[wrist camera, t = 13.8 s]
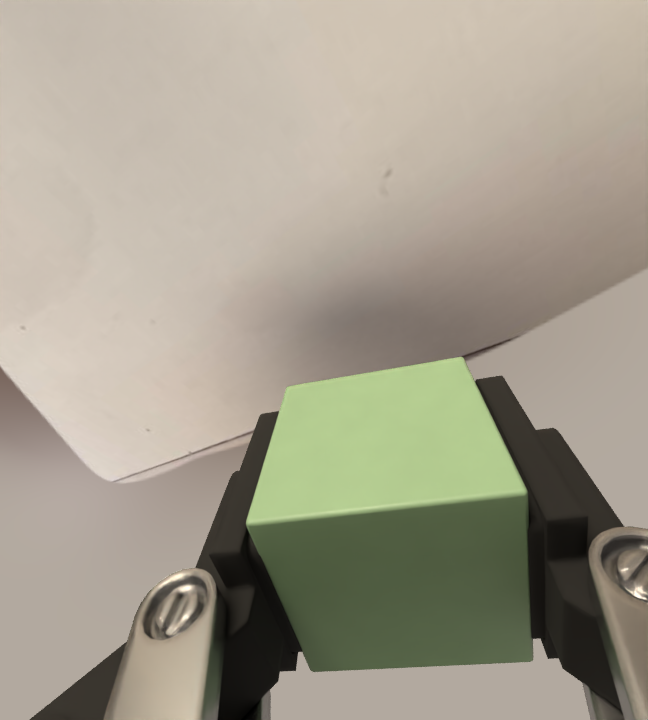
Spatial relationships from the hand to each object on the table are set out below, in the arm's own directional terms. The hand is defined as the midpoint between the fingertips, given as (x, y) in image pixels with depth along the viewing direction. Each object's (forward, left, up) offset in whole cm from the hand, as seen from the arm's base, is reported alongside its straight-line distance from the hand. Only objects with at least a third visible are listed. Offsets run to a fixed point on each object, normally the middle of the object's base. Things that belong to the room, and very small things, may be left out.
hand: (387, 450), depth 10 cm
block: (0, 0, 0) cm, 0 cm away
